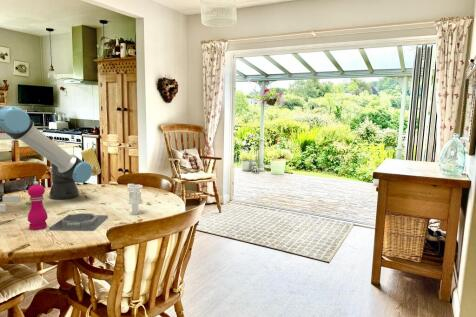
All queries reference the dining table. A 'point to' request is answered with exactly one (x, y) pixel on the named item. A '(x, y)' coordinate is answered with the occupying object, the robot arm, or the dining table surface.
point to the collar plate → (79, 222)
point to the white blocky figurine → (135, 197)
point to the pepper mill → (37, 207)
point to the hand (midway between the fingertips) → (13, 203)
